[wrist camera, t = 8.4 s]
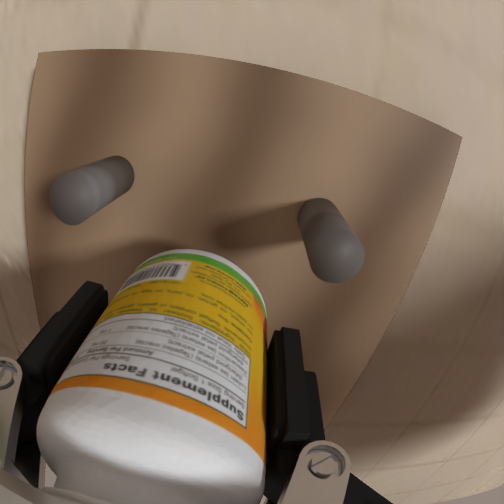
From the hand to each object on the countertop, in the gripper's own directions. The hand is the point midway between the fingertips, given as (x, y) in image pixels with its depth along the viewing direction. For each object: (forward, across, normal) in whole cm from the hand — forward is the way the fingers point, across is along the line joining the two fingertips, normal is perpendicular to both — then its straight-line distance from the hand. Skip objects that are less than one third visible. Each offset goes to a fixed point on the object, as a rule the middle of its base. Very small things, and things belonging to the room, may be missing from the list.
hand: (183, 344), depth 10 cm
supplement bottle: (+2, 0, 0) cm, 2 cm away
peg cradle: (+5, 0, 0) cm, 5 cm away
